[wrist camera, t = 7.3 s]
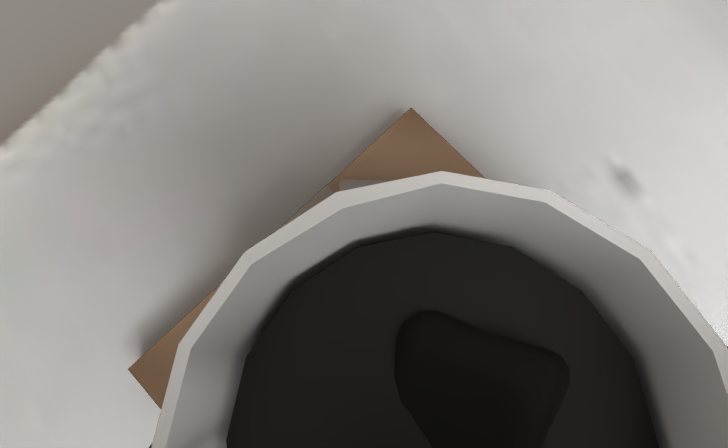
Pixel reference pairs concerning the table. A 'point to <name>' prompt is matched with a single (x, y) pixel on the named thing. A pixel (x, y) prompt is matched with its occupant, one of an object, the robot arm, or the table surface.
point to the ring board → (375, 165)
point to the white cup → (447, 332)
